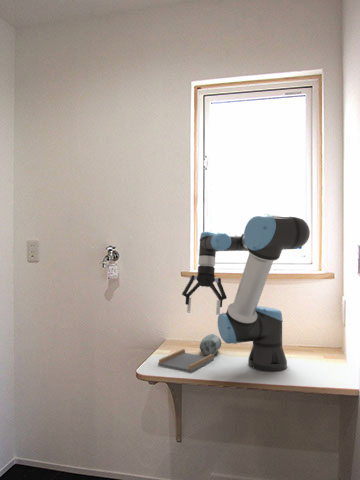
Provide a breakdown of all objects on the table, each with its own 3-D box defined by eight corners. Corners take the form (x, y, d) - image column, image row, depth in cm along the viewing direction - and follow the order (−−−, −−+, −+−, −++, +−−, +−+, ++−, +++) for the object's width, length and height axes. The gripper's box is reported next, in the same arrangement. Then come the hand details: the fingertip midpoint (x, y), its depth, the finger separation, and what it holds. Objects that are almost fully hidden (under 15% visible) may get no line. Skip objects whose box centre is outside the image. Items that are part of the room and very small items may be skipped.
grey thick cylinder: (219, 352, 160) (210, 329, 164) (200, 360, 163) (192, 338, 167) (229, 351, 172) (220, 330, 176) (210, 359, 175) (203, 338, 179)
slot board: (214, 360, 160) (214, 354, 160) (192, 372, 144) (192, 366, 144) (182, 354, 168) (182, 348, 168) (158, 365, 153) (158, 359, 153)
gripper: (229, 269, 179) (226, 315, 175) (177, 264, 173) (174, 311, 170) (235, 268, 171) (232, 316, 168) (181, 262, 166) (177, 311, 162)
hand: (203, 313), depth 169 cm, fingers open, 13 cm apart
